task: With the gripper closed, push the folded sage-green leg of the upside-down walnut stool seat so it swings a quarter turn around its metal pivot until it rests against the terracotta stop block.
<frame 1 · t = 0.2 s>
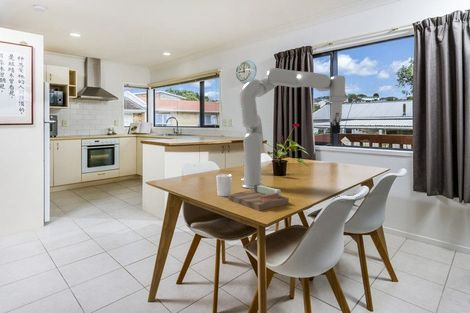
hand: (335, 133, 151), 31 cm above the table, tool pointing down, fingers open, 9 cm apart
stool leg: (267, 190, 136), point 4 cm above the table, hinge at 0.0°
white cup: (224, 195, 146), on the table
stool seat: (257, 201, 133), on the table
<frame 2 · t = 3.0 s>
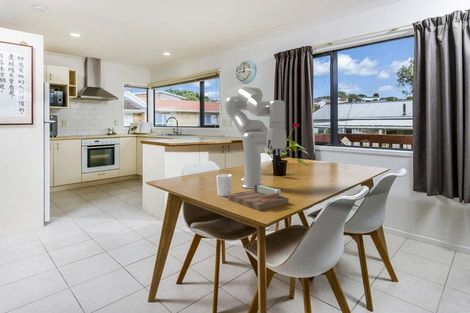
hand: (276, 163, 142), 17 cm above the table, tool pointing down, fingers closed
nothing on the table moved.
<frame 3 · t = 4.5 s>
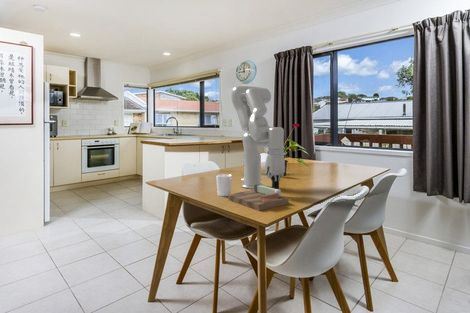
hand: (275, 188, 143), 4 cm above the table, tool pointing down, fingers closed
nothing on the table moved.
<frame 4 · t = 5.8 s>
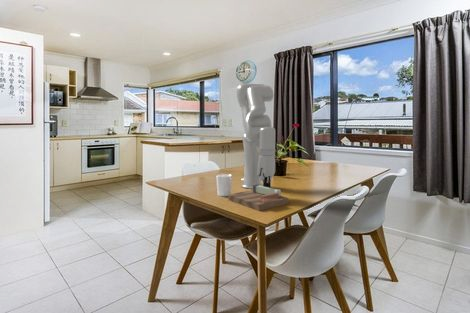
hand: (266, 190, 140), 4 cm above the table, tool pointing down, fingers closed
stool leg: (266, 190, 135), point 4 cm above the table, hinge at 4.1°, touching gripper
everything else where it was.
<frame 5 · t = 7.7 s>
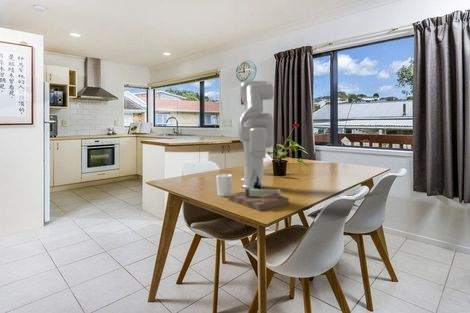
hand: (257, 192, 135), 4 cm above the table, tool pointing down, fingers closed
stool leg: (263, 192, 131), point 4 cm above the table, hinge at 43.9°, touching gripper
everything else where it was.
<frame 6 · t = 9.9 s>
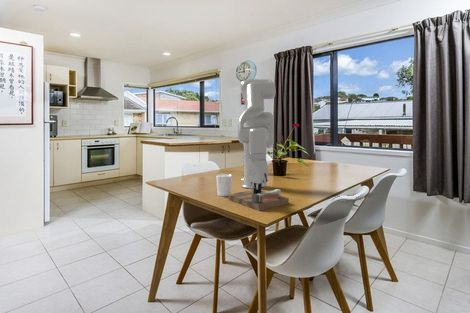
hand: (257, 197, 127), 3 cm above the table, tool pointing down, fingers closed
stool leg: (267, 195, 126), point 4 cm above the table, hinge at 92.2°, touching gripper
everything else where it was.
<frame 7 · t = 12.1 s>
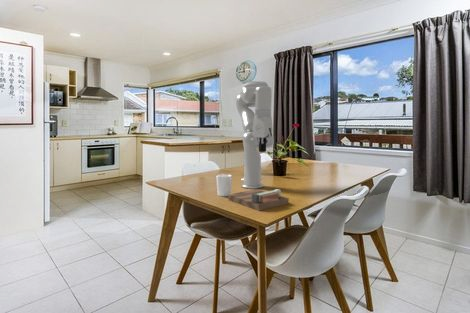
hand: (262, 151, 138), 23 cm above the table, tool pointing down, fingers closed
stool leg: (267, 195, 126), point 4 cm above the table, hinge at 92.2°
everything else where it was.
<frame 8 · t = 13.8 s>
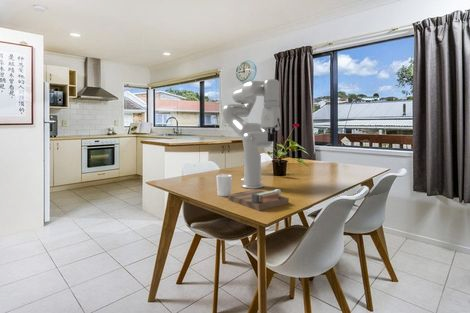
hand: (271, 141, 146), 27 cm above the table, tool pointing down, fingers closed
nothing on the table moved.
at the end: stool leg at +92° (first picture: +0°); white cup moved 0.2 cm from its start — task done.
